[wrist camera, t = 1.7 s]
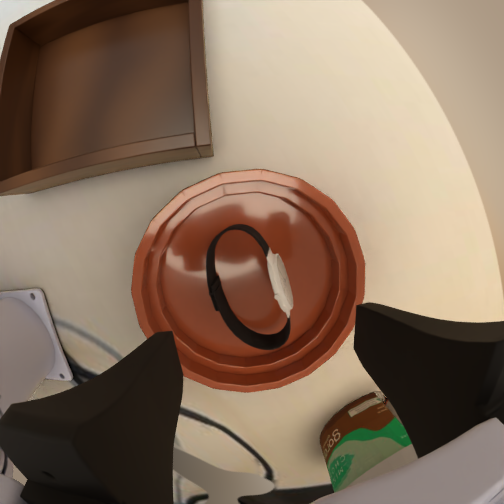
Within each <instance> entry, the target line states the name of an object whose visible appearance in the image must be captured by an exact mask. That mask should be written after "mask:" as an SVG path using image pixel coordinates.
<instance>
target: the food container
mask: <svg viewBox="0 0 504 504" xmlns="http://www.w3.org/2000/svg"><path fill="white" fill-rule="evenodd" d="M320 445H321V448H322V451H323V455H324V458H325V462H326V465H327V468H328V472H329V475H330V479H331V482H332V486H333V489H334V493H335V492H338V491H340V490H343V489H345V488H348V487H350V486H353V485H355V484H358V483H361V482H364V481H367V480H369V479H372V478H375V477H378V476H380V475H383V474H385V473H388V472H390V471H392V470H395V469H397V468H399V467H402V466H404V465H406V464H408V463H410V462H413V461H415V460H417V459H418V457H417V455H416V452H415V450H414V447H413V445H412V443H411V440H410V438H409V436H408V434H407V432H406V430H405V428H404V426H403V425H402V424H401V423H400V422H399V420H398V419H397V418H396V417H395V416H394V415H393V414H392V412H391V411H390V410H389V409H388V408H387V407H386V406H385V404H384V403H383V402H382V401H381V400H380V399H379V398H378V396H377V395H376V394H375V393H371V394H368V395H366V396H363V397H361V398H359V399H357V400H356V401H354V402H352V403H350V404H348V405H347V406H345V407H344V408H343V409H342V410H340V411H339V412H338V413H336V414H335V415H334V416H333V417H332V418H331V419H330V421H329V422H328V423H327V424H326V425H325V427H324V428H323V430H322V432H321V435H320Z"/></svg>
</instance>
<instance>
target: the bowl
mask: <svg viewBox="0 0 504 504" xmlns="http://www.w3.org/2000/svg"><path fill="white" fill-rule="evenodd" d="M235 224H245V225H248V226H251V227H252V228H254V229H255V230H256V231H258V232H259V233H260V234H261V236H262V237H263V238H264V240H265V241H266V242H267V244H268V246H269V247H270V249H271V251H272V253H273V254H277V253H278V254H279V256H280V258H281V260H282V262H283V264H284V267H285V270H286V273H287V276H288V279H289V283H290V287H291V291H292V296H293V308H292V309H290V321H291V330H290V335H289V338H288V340H287V341H286V343H285V344H284V345H282V346H281V347H280V348H277V349H275V350H261V349H257V348H254V347H251V346H250V345H248V344H246V343H244V342H243V341H241V340H240V339H239V338H238V337H236V336H235V335H234V334H233V333H232V331H231V330H230V329H229V328H228V327H227V325H226V324H225V322H224V320H223V318H222V316H221V314H220V312H219V311H216V310H215V309H214V306H213V303H212V300H211V297H210V296H209V293H208V292H209V290H208V286H207V277H206V254H207V250H208V247H209V245H210V244H211V242H212V240H213V239H214V238H215V236H216V235H218V234H219V233H220V232H221V231H223V230H224V229H226V228H227V227H229V226H232V225H235ZM215 269H216V276H218V275H219V278H220V281H221V286H222V290H223V292H224V295H225V297H226V299H227V302H228V304H229V306H230V308H231V310H232V312H233V313H234V314H235V316H236V317H237V318H238V320H239V321H240V322H242V323H243V324H244V325H245V326H246V327H248V328H249V329H251V330H253V331H255V332H257V333H261V334H274V333H278V332H279V331H281V330H282V329H283V328H284V326H285V325H286V322H287V316H286V312H284V311H283V310H282V309H281V308H280V305H279V303H278V301H277V300H276V299H275V298H274V295H275V294H274V291H273V288H272V284H271V280H270V276H269V271H268V267H267V258H266V256H265V254H264V252H263V250H262V247H261V246H260V245H259V244H258V242H257V241H256V240H255V239H254V238H253V237H252V236H251V235H250V234H248V233H246V232H244V231H241V230H230V231H227V232H225V233H224V234H223V235H222V236H221V237H220V239H219V240H218V242H217V244H216V247H215ZM131 291H132V292H131V293H132V298H133V302H134V306H135V310H136V314H137V318H138V322H139V325H140V328H141V329H142V331H143V332H144V334H145V336H146V337H147V339H148V338H149V337H151V336H152V335H153V334H155V333H156V332H163V331H173V335H174V340H175V344H176V348H177V352H178V356H179V360H180V364H181V367H182V371H183V376H185V377H187V378H189V379H192V380H194V381H196V382H199V383H201V384H203V385H206V386H208V387H211V388H213V389H214V388H215V389H220V390H228V391H236V392H247V393H248V392H256V391H263V390H269V389H275V388H280V387H282V386H285V385H287V384H290V383H292V382H294V381H296V380H299V379H301V378H303V377H305V376H308V375H309V374H311V373H312V372H313V371H315V370H316V369H317V368H318V367H320V366H321V365H322V364H323V363H325V362H326V361H327V360H328V359H330V358H331V357H332V356H333V355H334V354H335V353H336V352H337V351H338V349H339V348H340V346H341V345H342V344H343V342H344V341H345V339H346V338H347V337H348V335H349V334H350V332H351V331H352V329H353V327H354V325H355V318H356V305H359V304H362V302H363V299H364V293H365V260H364V257H363V254H362V250H361V247H360V244H359V241H358V238H357V234H356V231H355V230H354V227H353V226H352V225H351V223H350V222H349V221H348V219H347V218H346V216H345V215H344V214H343V212H342V211H341V210H340V208H339V207H338V206H337V204H336V203H335V202H334V201H333V200H332V199H331V198H329V197H328V196H326V195H325V194H324V193H322V192H321V191H319V190H318V189H316V188H315V187H313V186H312V185H310V184H309V183H307V182H305V181H304V180H302V179H300V178H297V177H293V176H289V175H285V174H281V173H277V172H273V171H269V170H265V169H262V170H261V169H253V170H242V171H232V172H222V173H218V174H216V175H214V176H211V177H209V178H207V179H205V180H203V181H200V182H198V183H196V184H194V185H192V186H190V187H188V188H186V189H183V190H182V191H180V192H179V193H178V194H177V195H176V196H175V197H174V198H173V199H172V200H171V201H170V202H169V203H168V204H167V205H166V206H165V207H164V208H163V209H162V210H161V211H160V212H159V213H158V214H157V215H156V216H155V217H154V218H153V219H152V220H151V222H150V224H149V226H148V228H147V230H146V232H145V234H144V236H143V238H142V240H141V242H140V245H139V247H138V249H137V251H136V253H135V258H134V267H133V276H132V287H131Z"/></svg>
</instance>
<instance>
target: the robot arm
mask: <svg viewBox="0 0 504 504" xmlns="http://www.w3.org/2000/svg"><path fill="white" fill-rule="evenodd" d="M33 294H34V295H35V297H34V296H33ZM354 350H355V352H356V354H357V356H358V358H359V360H360V362H361V364H362V365H363V367H364V368H365V370H366V371H367V372H368V374H369V375H370V376H371V378H372V379H373V380H374V382H375V383H376V384H377V386H378V387H379V388H380V390H381V391H382V392H383V394H384V395H385V396H386V398H387V399H388V400H389V402H390V403H391V405H392V406H393V408H394V409H395V411H396V413H397V415H398V417H399V418H400V420H401V422H402V424H403V426H404V428H405V430H406V432H407V434H408V436H409V438H410V440H411V443H412V445H413V447H414V450H415V452H416V455H417V457H418V459H417V460H415V461H413V462H410V463H408V464H406V465H404V466H402V467H399V468H397V469H395V470H392V471H390V472H388V473H385V474H383V475H380V476H378V477H375V478H372V479H369V480H367V481H364V482H361V483H358V484H355V485H353V486H350V487H348V488H345V489H343V490H340V491H338V492H335V493H333V494H330V495H327V496H324V497H322V498H319V499H317V500H316V501H314V502H312V503H310V504H504V321H500V322H486V323H471V322H455V321H447V320H440V319H435V318H430V317H426V316H421V315H417V314H413V313H410V312H406V311H402V310H399V309H395V308H392V307H388V306H385V305H381V304H376V303H364V304H359V305H356V318H355V335H354ZM62 374H63V375H64V376H63V375H62ZM72 378H73V374H72V372H71V369H70V367H69V365H68V362H67V360H66V357H65V355H64V352H63V350H62V347H61V345H60V342H59V339H58V337H57V334H56V331H55V328H54V325H53V322H52V319H51V316H50V313H49V310H48V306H47V303H46V299H45V296H44V293H43V291H42V290H41V289H39V288H35V289H24V290H13V291H1V292H0V504H173V446H174V438H175V432H176V427H177V421H178V416H179V411H180V405H181V400H182V393H183V371H182V367H181V364H180V360H179V356H178V352H177V348H176V344H175V340H174V335H173V331H163V332H156V333H155V334H153V335H152V336H151V337H149V338H148V339H147V340H146V341H145V342H143V343H142V344H141V345H140V346H138V347H137V348H136V349H135V350H134V351H132V352H131V353H130V354H129V355H127V356H126V357H125V358H123V359H122V360H121V361H119V362H118V363H116V364H115V365H114V366H112V367H111V368H109V369H108V370H106V371H105V372H103V373H101V374H100V375H98V376H96V377H94V378H93V379H91V380H89V381H87V382H85V383H82V384H80V385H78V386H76V387H73V388H71V389H69V390H66V391H64V392H61V393H58V394H55V395H51V396H48V397H45V398H41V399H36V400H31V401H28V400H29V399H30V397H31V396H32V395H33V393H34V392H35V391H36V389H37V388H38V387H39V385H40V384H41V383H42V381H43V380H44V379H52V380H63V381H71V380H72ZM13 464H14V465H15V466H16V467H17V468H18V469H19V470H20V472H21V473H22V474H23V475H24V476H25V477H26V478H27V479H28V480H27V482H26V484H25V486H24V485H22V484H21V483H20V482H18V481H17V480H15V479H13V478H12V477H13Z"/></svg>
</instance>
